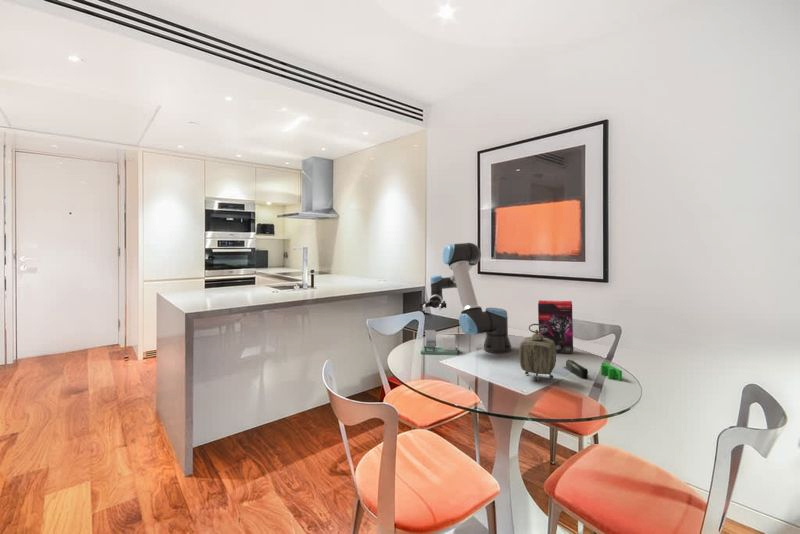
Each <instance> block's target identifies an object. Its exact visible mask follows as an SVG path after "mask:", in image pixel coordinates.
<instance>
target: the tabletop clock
mask: <svg viewBox="0 0 800 534" xmlns="http://www.w3.org/2000/svg"><path fill="white" fill-rule="evenodd" d="M532 326H538V327H539V326H542V327H543V328H544V331H545V327H544V326H543V325H541V324H539V323H532V324H530V325H529V326H528V330H529V331H530V332H531V333H532V335H531V336H529V337H524V339H523V340H522V341H521V342H520V344H519V350H518V357H519V366H520V368H521V370H522V371H524V374H525V375H526V374H528V375H529V373H531V374H535V377H534V380H535V381H536V380H537V382H538V381H539V375H549V378H550V379H553V378H554V375H553V374H552V372H553V370H554V369H555V367H556V362H557V352H556V346H555V343H554V341H553V340H551V339H547V338H543V336H542V335H541V334H539V333H543V332H544V331H542V332H539V329H536V330H533V329H531V327H532Z"/></svg>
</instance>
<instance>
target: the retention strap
mask: <svg viewBox="0 0 800 534" xmlns="http://www.w3.org/2000/svg"><path fill="white" fill-rule="evenodd" d="M436 331H437V330H436V329H425V330H424V336H425V337H424V338H425V340H424V341H425V346H435V347H437V332H436Z"/></svg>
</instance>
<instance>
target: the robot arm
mask: <svg viewBox="0 0 800 534" xmlns="http://www.w3.org/2000/svg"><path fill="white" fill-rule="evenodd" d="M481 256H482V252H481V249H480V248H479V247H478V245H477V244H475V243H474V242H473V243H472V242H465V243H462V242H461V243H460V242H459V243H449V244H446V245H445V247H444V248H443V252H442V260H443V263H444V264H445V265H448V269H450V270H451V271H452V274H451V276H450V277H449V276H448V277H442V275H440V274H437V275H435V274H434V275H431V276H430V295H431V297H430V298H429V300H428V301H426V300H424V301H423V302H421V303H419V308H420V309H422V311H425V310H426V309H427V308H428V307H429V308H433V309H437V308H438V309H439V310H438V311H439V312H440V311H442V309H444V308H445V309H446V308H447V303H446V301H445V300H444V296H443V290H444V289H454V288H455V289H457V292H458V295H459V300H460V304H461V307H462V309H461V311H460V315H459V317H458V323H459V327H460V329H461V331H462V332H463V333H464V334H465V335H468V336H476V335H479V334H485V333H486V336H485V339H484V342H483V351H486V352H488V353H491V354H505V353H506V354H507V353H509V352H511V351H512V344H511V341H510V338H509V329H508V327H509V326H508V325H509V324H508V321H509V320H508V319H509V317H508V311H507V310H506V309H504V308H498V307H486V308H485V311H483V308H482V306H480V305H478V304H479V303H478V300H477V297H476V294H475V291H474V287H473V283H472V279H471V276H470V270H471V269H472V268H473V267H474V266H476V265H477V264H478V263H479V262H480V260H481V258H482V257H481Z"/></svg>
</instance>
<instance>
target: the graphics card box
mask: <svg viewBox="0 0 800 534" xmlns="http://www.w3.org/2000/svg"><path fill="white" fill-rule="evenodd" d="M537 304H538V305H537V311H538V313H537V314H538V315H537V317H538V320H537V322H538V324H541V325H543V326H544V327H545V331H544V328H543V327H542V326H539V325H538V332H542V331H544V332H543V333H538V334H541V335H542V336H543V338H547V339H551V340H553V341H554V343H555V346H556V354H557V353H559V354H574V329H573V327H574V326H573V325H574V324H573V301H572V300H538V302H537Z"/></svg>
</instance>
